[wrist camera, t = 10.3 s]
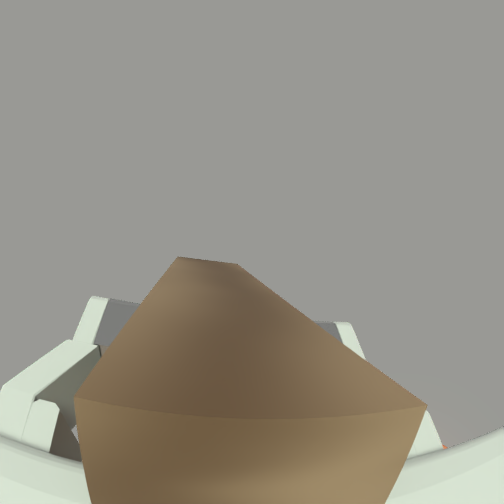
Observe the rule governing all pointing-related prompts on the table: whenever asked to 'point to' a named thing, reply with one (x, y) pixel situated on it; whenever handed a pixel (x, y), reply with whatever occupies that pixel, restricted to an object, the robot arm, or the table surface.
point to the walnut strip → (237, 403)
